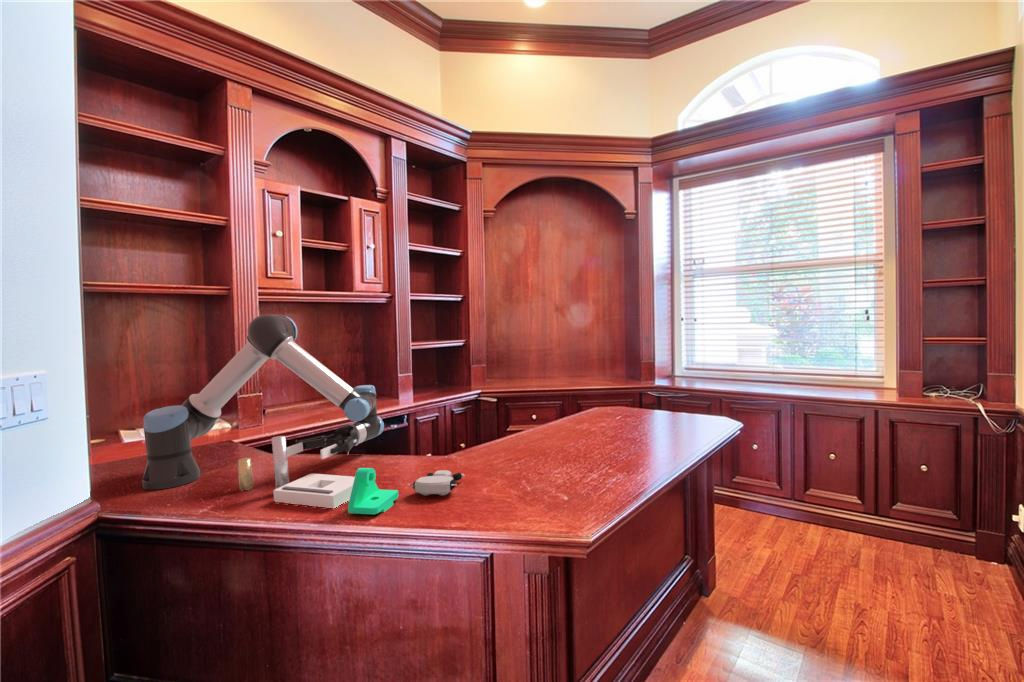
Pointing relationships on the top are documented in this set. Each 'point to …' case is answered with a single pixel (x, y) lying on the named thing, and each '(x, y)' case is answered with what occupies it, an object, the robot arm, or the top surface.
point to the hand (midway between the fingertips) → (303, 453)
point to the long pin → (280, 461)
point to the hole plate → (316, 490)
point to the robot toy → (437, 483)
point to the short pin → (245, 473)
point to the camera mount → (369, 494)
